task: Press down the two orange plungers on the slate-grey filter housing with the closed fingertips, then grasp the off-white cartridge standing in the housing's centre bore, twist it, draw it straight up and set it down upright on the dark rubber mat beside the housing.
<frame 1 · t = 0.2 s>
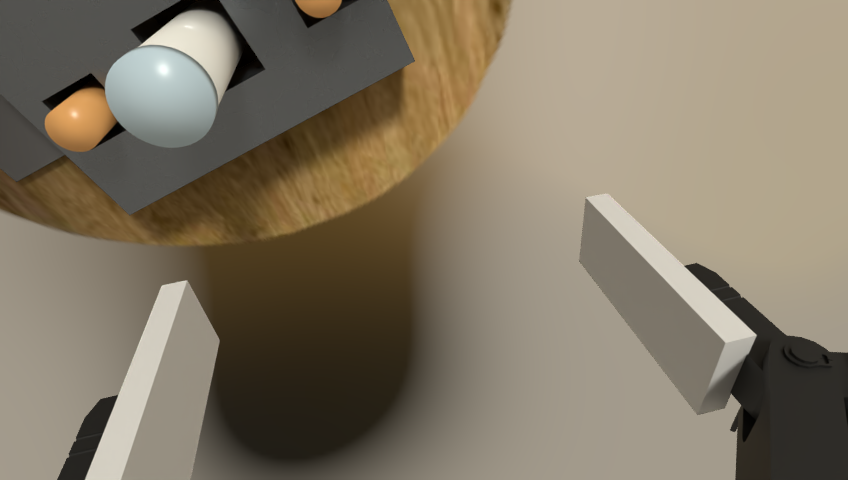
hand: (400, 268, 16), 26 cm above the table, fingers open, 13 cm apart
cartridge: (213, 33, 34), resting in housing
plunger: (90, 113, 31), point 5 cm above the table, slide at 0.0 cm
housing: (213, 33, 34), on the table
mat: (15, 119, 35), on the table
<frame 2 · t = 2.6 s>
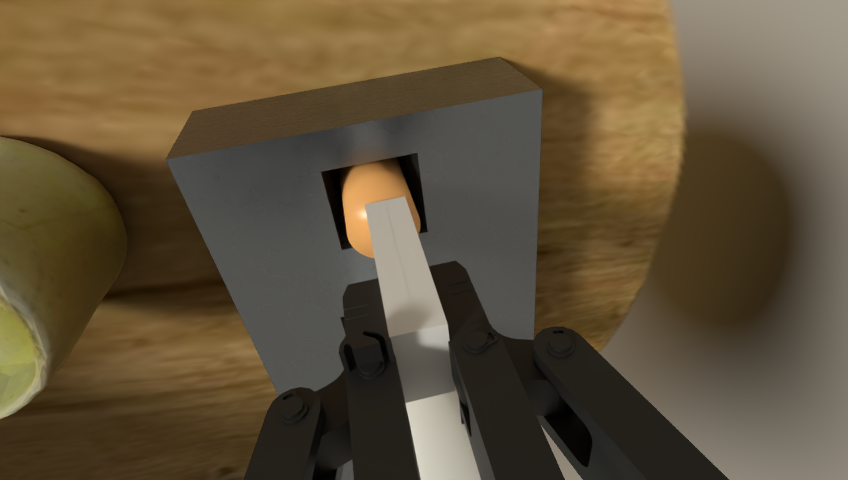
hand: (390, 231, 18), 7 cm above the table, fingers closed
cartridge: (391, 282, 28), resting in housing
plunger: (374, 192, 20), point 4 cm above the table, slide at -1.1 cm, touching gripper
housing: (391, 282, 28), on the table
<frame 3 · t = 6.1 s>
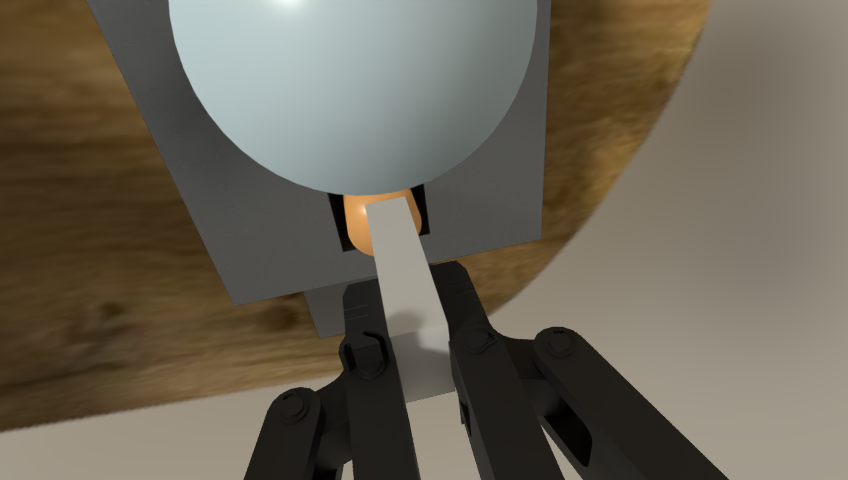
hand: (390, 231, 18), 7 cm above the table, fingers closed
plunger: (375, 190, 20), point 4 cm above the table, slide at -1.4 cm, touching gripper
mat: (364, 276, 27), on the table
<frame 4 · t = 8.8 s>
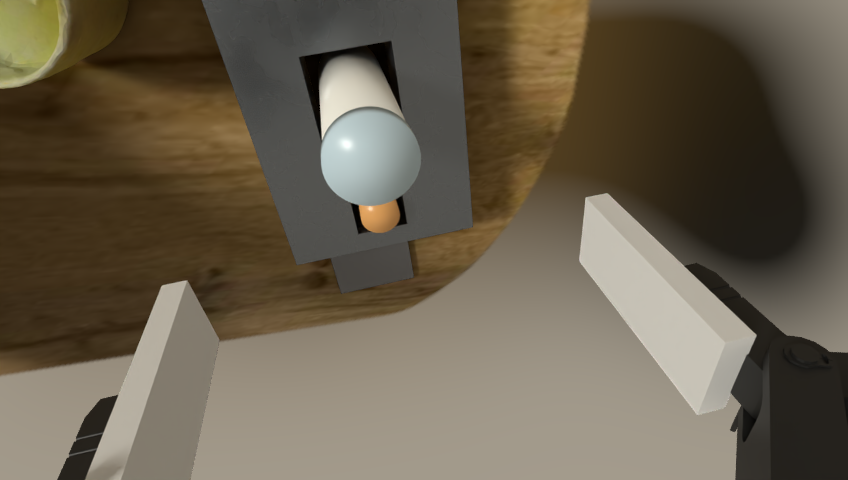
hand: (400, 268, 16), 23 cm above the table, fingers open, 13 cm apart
cartridge: (349, 72, 34), resting in housing
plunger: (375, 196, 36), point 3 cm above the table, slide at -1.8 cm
housing: (349, 72, 34), on the table
mat: (370, 252, 43), on the table
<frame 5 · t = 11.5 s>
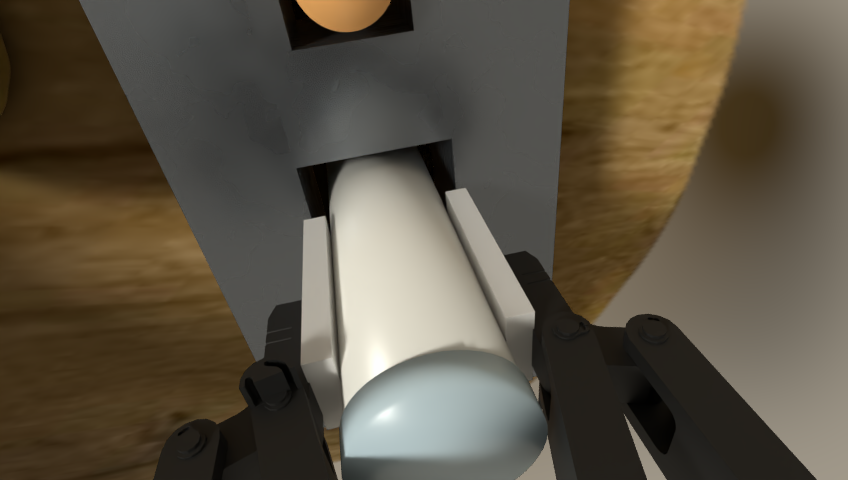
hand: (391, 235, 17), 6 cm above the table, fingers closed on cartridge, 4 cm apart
cartridge: (373, 163, 22), resting in housing, touching gripper
housing: (373, 163, 22), on the table
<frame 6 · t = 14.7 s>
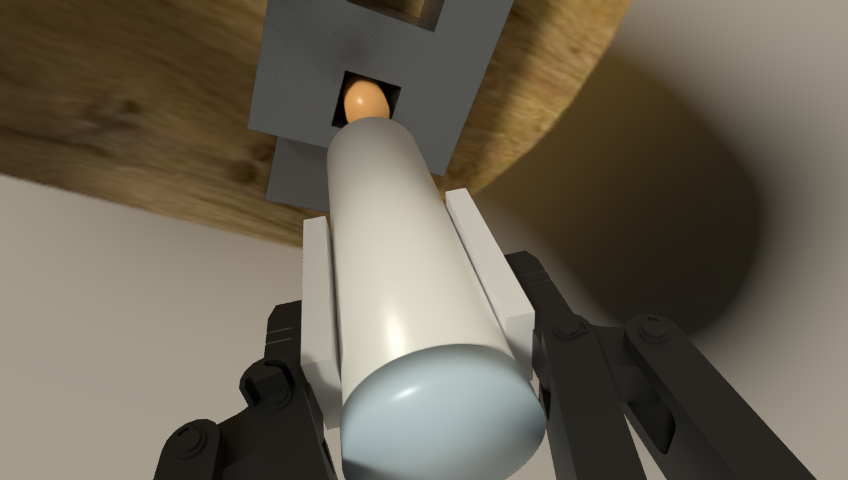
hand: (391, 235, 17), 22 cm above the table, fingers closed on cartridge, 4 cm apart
cartridge: (373, 161, 23), point 15 cm above the table, touching gripper
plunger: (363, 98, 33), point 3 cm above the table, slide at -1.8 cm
mat: (317, 168, 38), on the table
when the fingers open (8 cm above the table, at t = 18.0 s): cartridge drops 1 cm, resting on mat.
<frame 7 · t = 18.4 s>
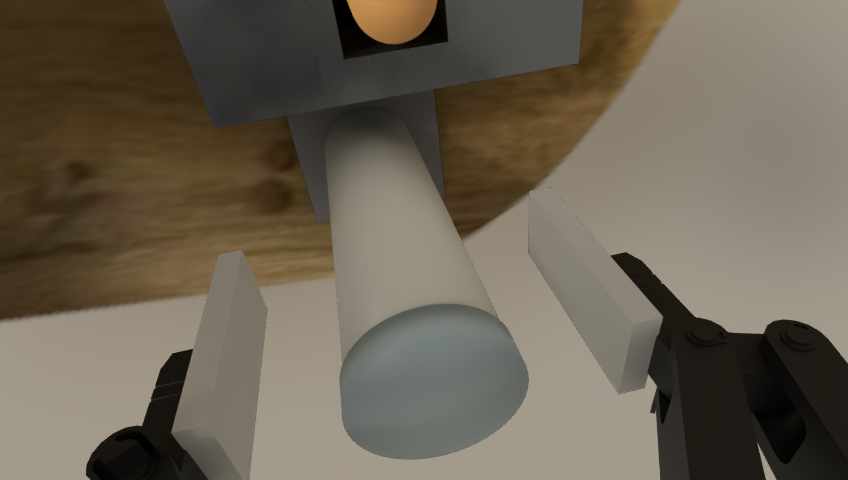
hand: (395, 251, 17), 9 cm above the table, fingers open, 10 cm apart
cartridge: (369, 151, 24), point 1 cm above the table, touching mat
mat: (369, 146, 24), on the table
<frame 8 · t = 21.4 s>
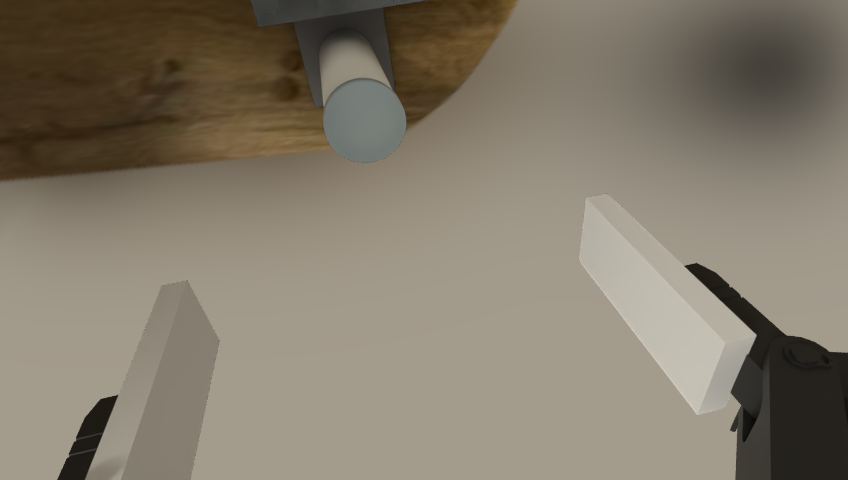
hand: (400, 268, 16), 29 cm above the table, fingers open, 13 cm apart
cartridge: (346, 58, 38), point 1 cm above the table, touching mat
mat: (346, 56, 39), on the table
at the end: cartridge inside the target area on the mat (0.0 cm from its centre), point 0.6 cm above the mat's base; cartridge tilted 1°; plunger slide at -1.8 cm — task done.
